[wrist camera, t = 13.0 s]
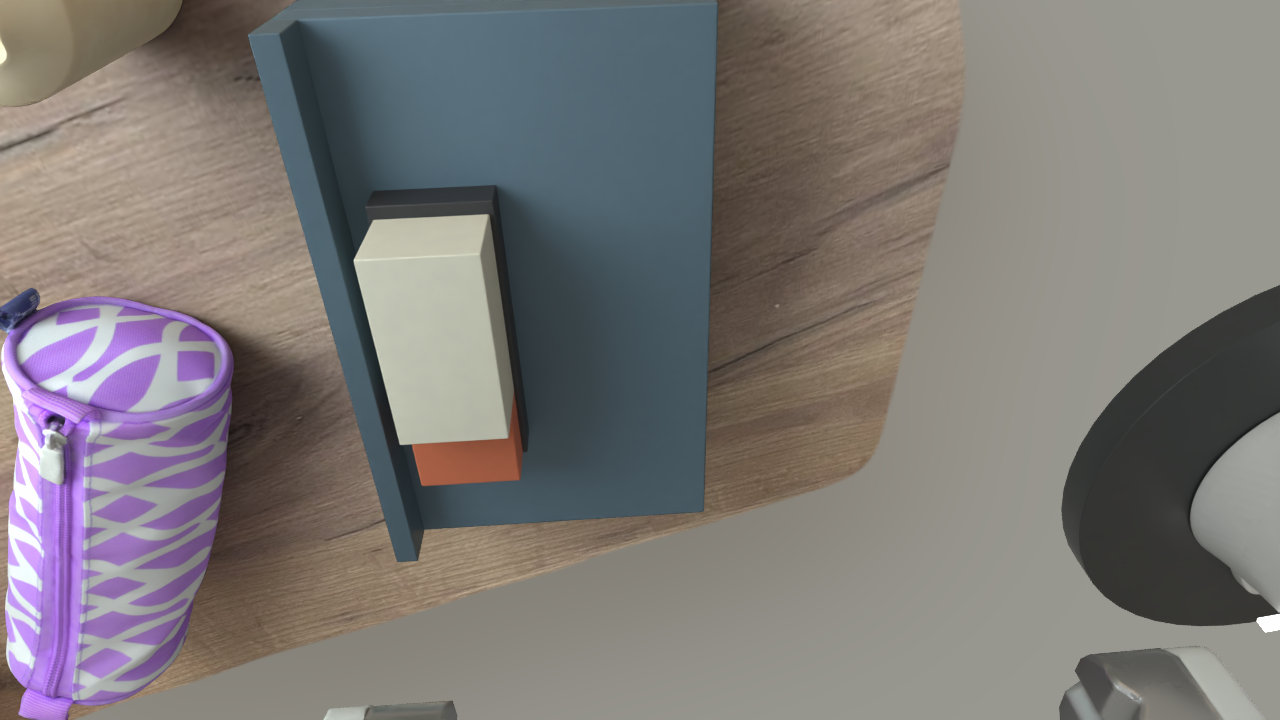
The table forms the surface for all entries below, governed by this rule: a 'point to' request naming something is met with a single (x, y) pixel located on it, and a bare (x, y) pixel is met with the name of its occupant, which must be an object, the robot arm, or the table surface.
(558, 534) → the table surface
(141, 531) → the pencil case
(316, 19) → the grey lipped base tray
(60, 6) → the candle
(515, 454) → the cream and orange block
